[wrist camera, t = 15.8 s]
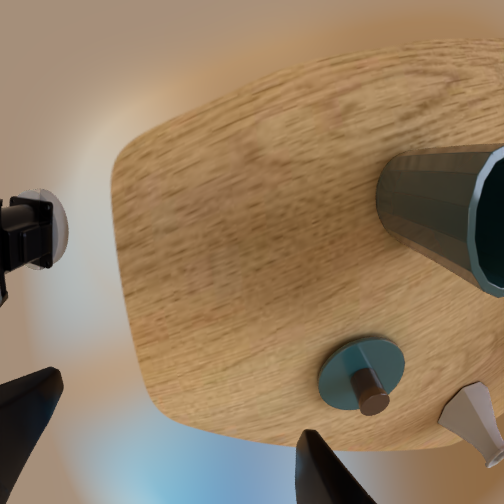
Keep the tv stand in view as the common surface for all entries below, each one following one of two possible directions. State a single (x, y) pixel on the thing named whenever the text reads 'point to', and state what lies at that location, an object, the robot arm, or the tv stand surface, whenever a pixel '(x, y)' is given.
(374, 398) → the lid
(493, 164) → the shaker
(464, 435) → the flask
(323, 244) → the tv stand surface
